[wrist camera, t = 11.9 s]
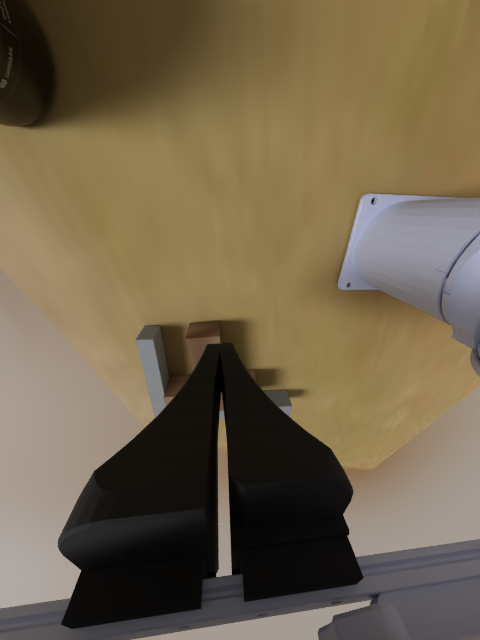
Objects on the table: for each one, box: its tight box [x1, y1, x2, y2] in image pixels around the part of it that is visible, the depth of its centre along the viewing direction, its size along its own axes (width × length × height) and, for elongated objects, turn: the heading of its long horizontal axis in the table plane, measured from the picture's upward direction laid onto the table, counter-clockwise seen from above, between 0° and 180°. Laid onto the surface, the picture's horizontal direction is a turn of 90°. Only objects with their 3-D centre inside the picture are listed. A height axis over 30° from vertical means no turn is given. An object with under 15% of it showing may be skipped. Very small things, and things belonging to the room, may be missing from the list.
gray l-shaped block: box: [136, 326, 292, 419], centre depth 23 cm, size 16×12×2 cm
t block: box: [164, 321, 257, 411], centre depth 22 cm, size 10×10×3 cm
